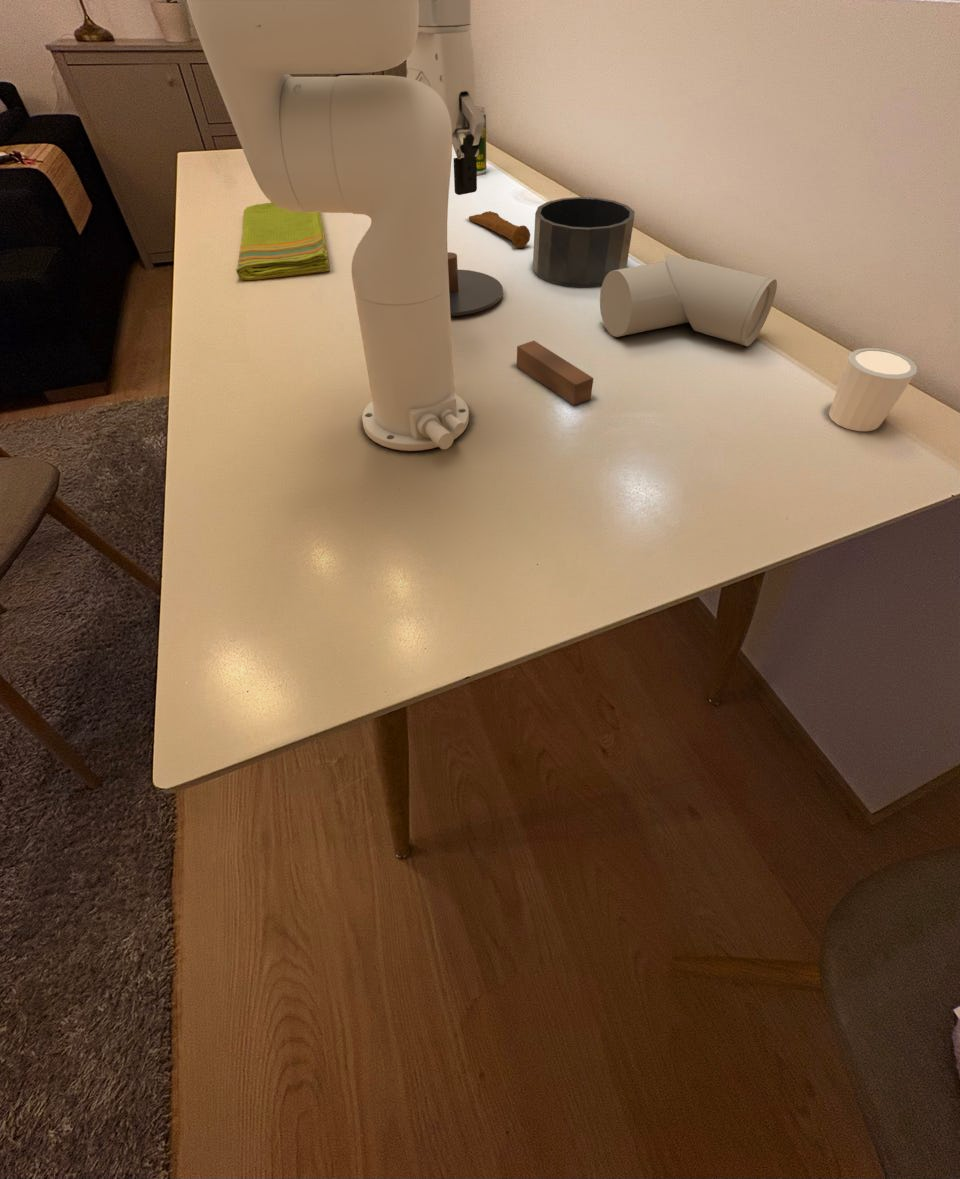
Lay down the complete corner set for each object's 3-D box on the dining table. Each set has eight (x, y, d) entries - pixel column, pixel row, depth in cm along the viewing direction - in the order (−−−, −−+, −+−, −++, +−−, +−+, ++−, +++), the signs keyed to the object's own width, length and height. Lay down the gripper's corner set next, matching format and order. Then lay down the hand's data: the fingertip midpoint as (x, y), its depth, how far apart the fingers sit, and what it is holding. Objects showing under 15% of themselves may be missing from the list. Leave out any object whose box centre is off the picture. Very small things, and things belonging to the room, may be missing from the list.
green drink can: (459, 171, 143) (457, 107, 134) (479, 167, 145) (479, 104, 136) (470, 176, 140) (468, 111, 131) (490, 173, 142) (490, 109, 133)
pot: (645, 272, 101) (655, 215, 94) (572, 295, 95) (578, 236, 89) (584, 245, 109) (590, 191, 103) (515, 264, 104) (516, 208, 98)
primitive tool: (467, 219, 120) (467, 199, 117) (492, 215, 121) (492, 195, 119) (513, 250, 108) (514, 229, 106) (540, 245, 110) (541, 224, 107)
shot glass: (834, 396, 74) (860, 341, 69) (893, 415, 71) (925, 358, 66) (814, 420, 71) (840, 364, 65) (876, 441, 68) (908, 384, 62)
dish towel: (238, 283, 100) (232, 262, 98) (244, 215, 124) (239, 197, 121) (331, 273, 103) (327, 252, 100) (319, 208, 126) (316, 191, 123)
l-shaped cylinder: (704, 285, 94) (590, 307, 89) (733, 215, 84) (608, 235, 80) (769, 359, 86) (647, 387, 81) (809, 291, 76) (674, 317, 72)
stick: (590, 398, 75) (593, 378, 72) (573, 405, 74) (575, 384, 71) (532, 360, 81) (534, 340, 79) (516, 366, 80) (516, 345, 78)
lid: (523, 301, 94) (525, 259, 89) (432, 329, 88) (428, 286, 83) (466, 268, 103) (465, 229, 99) (380, 291, 97) (374, 251, 93)
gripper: (376, 12, 74) (393, 177, 86) (450, 19, 64) (457, 204, 76) (429, 9, 77) (437, 169, 89) (507, 15, 67) (505, 194, 79)
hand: (446, 185), depth 83 cm, fingers open, 9 cm apart
